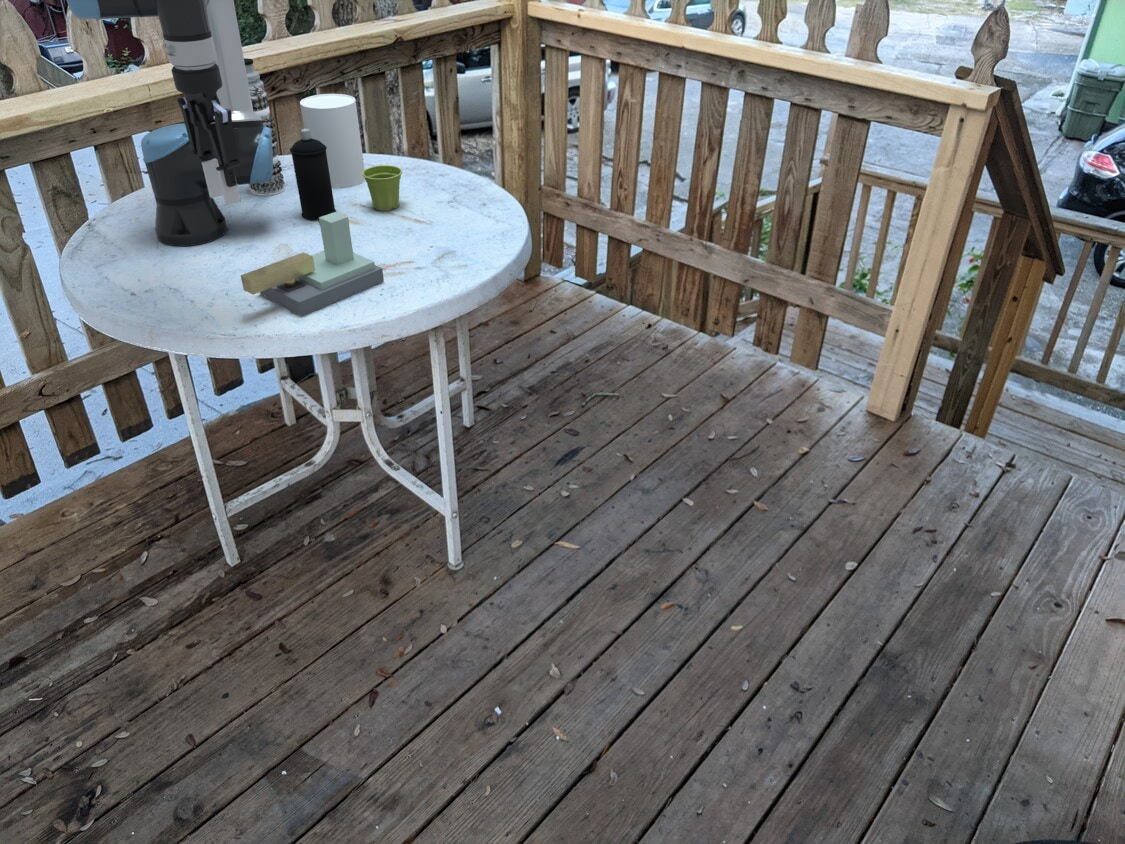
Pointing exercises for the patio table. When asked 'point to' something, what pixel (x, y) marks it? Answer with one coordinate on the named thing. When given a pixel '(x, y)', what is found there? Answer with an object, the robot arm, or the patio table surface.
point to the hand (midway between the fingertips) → (225, 198)
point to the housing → (321, 292)
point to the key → (278, 273)
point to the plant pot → (383, 185)
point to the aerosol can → (312, 177)
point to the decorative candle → (276, 181)
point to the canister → (336, 135)
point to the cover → (336, 255)
